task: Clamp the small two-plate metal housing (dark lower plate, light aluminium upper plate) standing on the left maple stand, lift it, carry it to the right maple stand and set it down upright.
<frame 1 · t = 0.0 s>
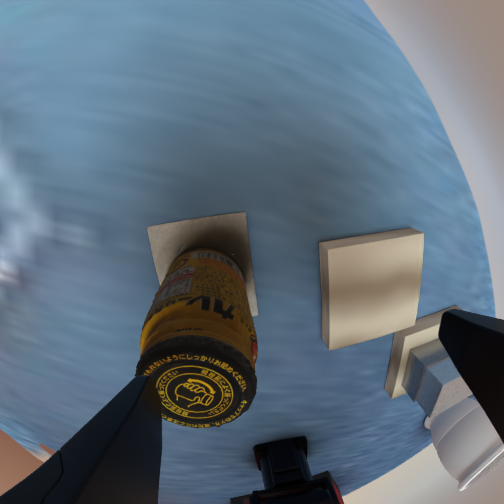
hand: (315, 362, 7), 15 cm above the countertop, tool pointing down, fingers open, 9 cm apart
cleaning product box: (286, 493, 35), on the countertop
stand a: (421, 348, 27), on the countertop
stand b: (368, 284, 24), on the countertop
jar: (443, 407, 33), on the countertop
housing: (430, 357, 25), point 2 cm above the countertop, touching stand a
condiment: (204, 272, 22), on the countertop
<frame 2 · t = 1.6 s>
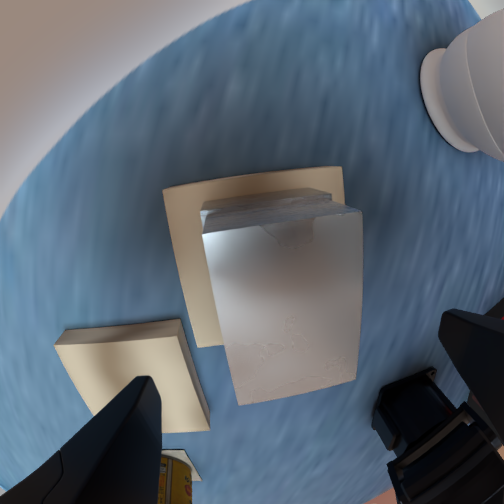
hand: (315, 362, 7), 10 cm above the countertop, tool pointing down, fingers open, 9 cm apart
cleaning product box: (496, 347, 24), on the countertop
stand a: (260, 252, 17), on the countertop
stand b: (137, 376, 18), on the countertop
jar: (455, 99, 15), on the countertop
housing: (266, 263, 15), point 2 cm above the countertop, touching stand a
condiment: (155, 464, 23), on the countertop
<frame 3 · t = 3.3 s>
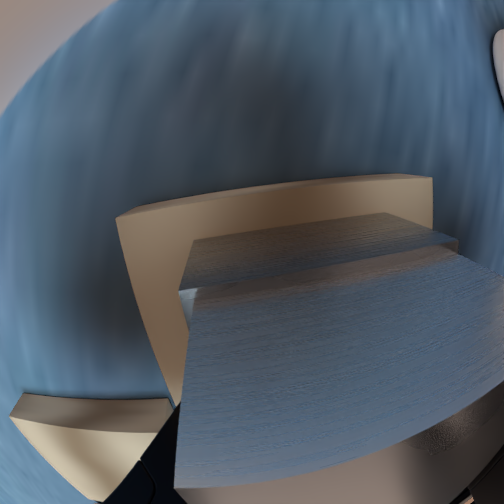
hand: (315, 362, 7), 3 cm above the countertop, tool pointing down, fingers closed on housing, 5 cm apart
stand a: (290, 311, 10), on the countertop
stand b: (119, 451, 12), on the countertop
housing: (305, 342, 8), point 2 cm above the countertop, touching gripper, stand a
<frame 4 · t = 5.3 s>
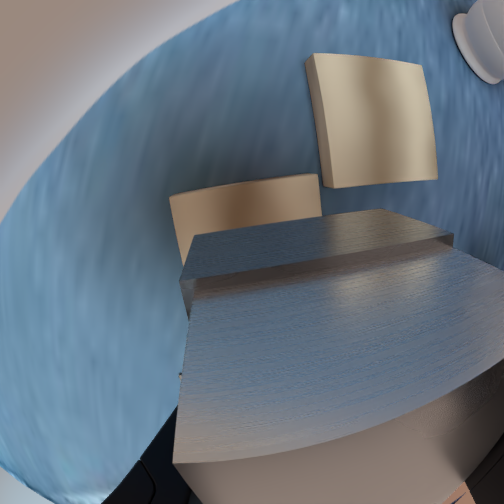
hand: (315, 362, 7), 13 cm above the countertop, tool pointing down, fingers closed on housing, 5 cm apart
stand a: (371, 120, 18), on the countertop
stand b: (251, 247, 20), on the countertop
jar: (475, 48, 16), on the countertop
housing: (303, 336, 8), point 12 cm above the countertop, touching gripper
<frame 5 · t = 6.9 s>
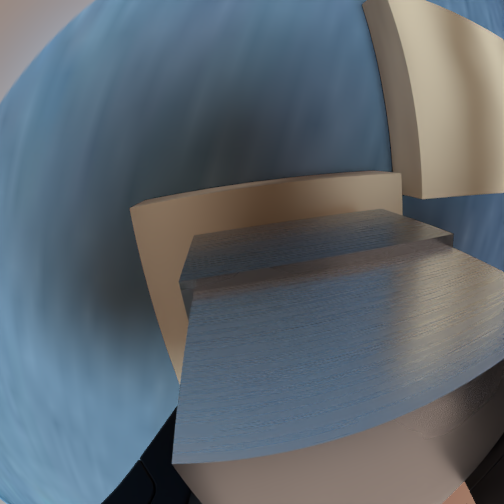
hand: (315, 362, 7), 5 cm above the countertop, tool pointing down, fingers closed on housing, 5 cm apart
stand a: (452, 100, 10), on the countertop
stand b: (278, 292, 12), on the countertop
housing: (303, 337, 8), point 3 cm above the countertop, touching gripper
when the fingers open (4 cm above the countertop, at t = 7.7 s): housing drops 1 cm, resting on stand b.
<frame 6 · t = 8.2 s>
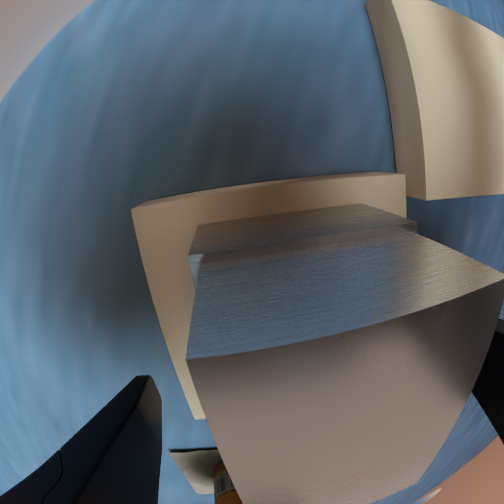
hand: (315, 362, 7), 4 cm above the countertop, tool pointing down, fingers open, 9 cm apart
stand a: (455, 101, 10), on the countertop
stand b: (281, 294, 12), on the countertop
housing: (293, 317, 10), point 2 cm above the countertop, touching stand b
condiment: (243, 467, 16), on the countertop
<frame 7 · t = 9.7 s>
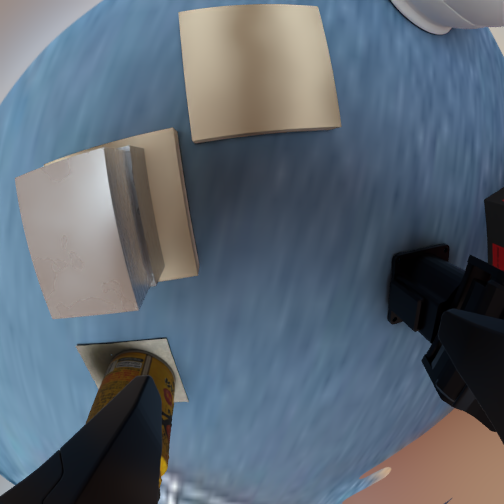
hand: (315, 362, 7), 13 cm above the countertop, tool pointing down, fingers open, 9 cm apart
stand a: (255, 71, 16), on the countertop
stand b: (123, 212, 18), on the countertop
housing: (113, 216, 16), point 2 cm above the countertop, touching stand b
condiment: (133, 373, 22), on the countertop
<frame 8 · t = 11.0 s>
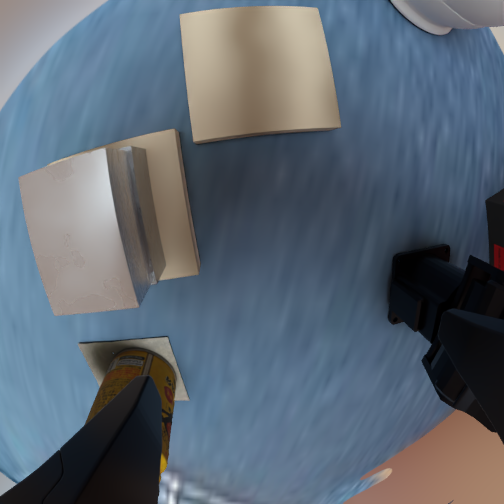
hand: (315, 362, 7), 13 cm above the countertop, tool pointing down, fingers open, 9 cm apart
stand a: (256, 72, 16), on the countertop
stand b: (125, 211, 18), on the countertop
jar: (415, 0, 15), on the countertop
housing: (115, 215, 16), point 2 cm above the countertop, touching stand b
condiment: (134, 371, 22), on the countertop
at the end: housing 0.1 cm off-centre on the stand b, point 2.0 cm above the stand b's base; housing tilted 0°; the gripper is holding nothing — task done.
